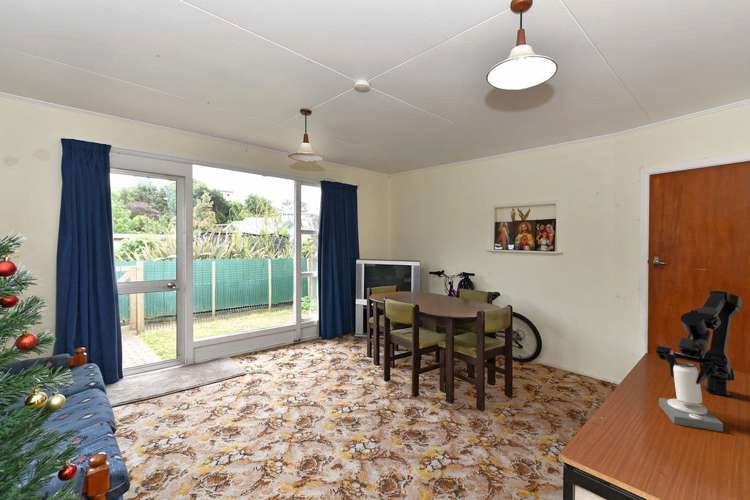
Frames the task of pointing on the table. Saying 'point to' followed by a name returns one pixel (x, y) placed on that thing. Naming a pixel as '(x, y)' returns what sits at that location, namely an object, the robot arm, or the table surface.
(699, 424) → the scale
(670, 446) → the table surface
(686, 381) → the can
